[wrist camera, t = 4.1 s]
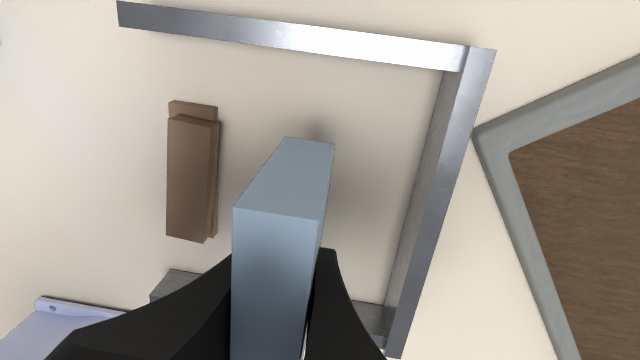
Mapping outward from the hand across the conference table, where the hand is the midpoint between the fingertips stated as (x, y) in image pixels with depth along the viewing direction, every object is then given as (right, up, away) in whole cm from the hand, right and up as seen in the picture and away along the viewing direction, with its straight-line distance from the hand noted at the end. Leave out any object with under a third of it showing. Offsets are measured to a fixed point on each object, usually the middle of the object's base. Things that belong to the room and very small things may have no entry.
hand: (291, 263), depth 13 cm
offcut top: (-6, +3, +6) cm, 9 cm away
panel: (0, +1, +2) cm, 2 cm away
